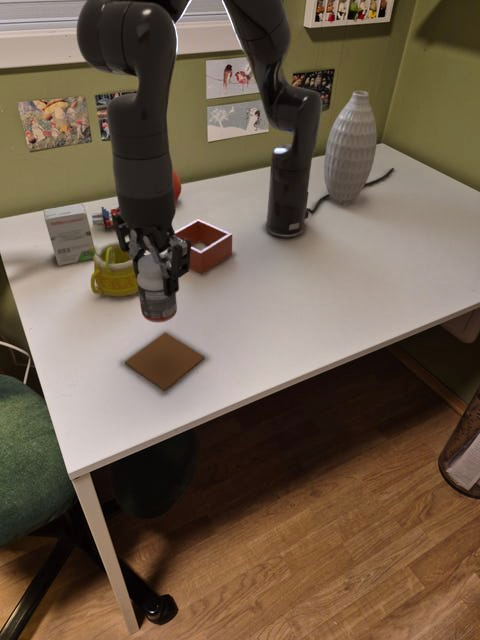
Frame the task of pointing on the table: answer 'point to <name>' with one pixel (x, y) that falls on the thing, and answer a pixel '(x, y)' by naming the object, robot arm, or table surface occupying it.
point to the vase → (350, 149)
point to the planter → (210, 236)
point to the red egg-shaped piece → (176, 186)
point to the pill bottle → (154, 292)
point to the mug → (113, 271)
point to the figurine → (104, 217)
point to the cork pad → (164, 361)
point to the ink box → (69, 233)
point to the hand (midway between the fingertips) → (156, 285)
